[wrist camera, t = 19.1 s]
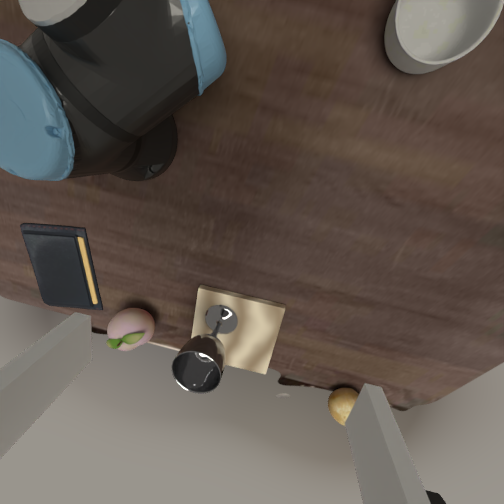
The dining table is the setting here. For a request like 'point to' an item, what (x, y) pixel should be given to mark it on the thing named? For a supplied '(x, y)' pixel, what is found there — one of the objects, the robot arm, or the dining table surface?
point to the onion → (342, 403)
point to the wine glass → (205, 353)
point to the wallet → (62, 265)
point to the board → (242, 327)
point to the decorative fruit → (130, 329)
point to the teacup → (436, 31)
